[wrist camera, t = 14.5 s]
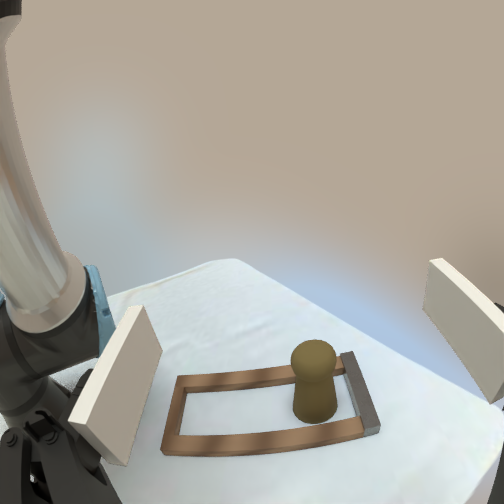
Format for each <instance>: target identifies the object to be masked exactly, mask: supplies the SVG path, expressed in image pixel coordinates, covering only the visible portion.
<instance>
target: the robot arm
mask: <svg viewBox="0 0 504 504" xmlns="http://www.w3.org/2000/svg"><path fill="white" fill-rule="evenodd" d="M21 2H22V0H0V288H1V290H2V291H3V292H4V294H5V295H6V300H5V299H4V295H3V294H2V293H1V292H0V413H1V414H2V415H3V417H4V419H5V421H6V423H7V425H8V427H9V429H8V430H6V431H5V432H4V434H3V435H2V437H1V441H0V504H122V502H121V501H120V499H119V497H118V495H117V493H116V492H115V490H114V488H113V486H112V484H111V482H110V480H109V478H108V476H107V474H106V472H105V470H104V468H103V466H102V465H101V464H100V463H99V461H100V458H101V456H102V457H103V458H104V459H105V460H106V461H107V462H108V463H110V464H115V465H121V466H127V464H128V460H129V457H130V453H131V449H132V446H133V442H134V439H135V436H136V432H137V429H138V426H139V422H140V419H141V416H142V412H143V409H144V406H145V403H146V400H147V396H148V393H149V390H150V387H151V384H152V381H153V378H154V375H155V372H156V369H157V366H158V363H159V360H160V357H161V354H162V351H163V350H162V348H161V346H160V344H159V341H158V339H157V337H156V334H155V332H154V330H153V327H152V325H151V323H150V320H149V318H148V315H147V313H146V310H145V308H144V305H139V306H130V307H129V308H128V309H127V311H126V313H125V314H124V316H123V318H122V319H121V321H120V323H119V324H118V326H117V328H116V327H115V324H114V321H113V318H112V315H111V312H110V309H109V305H108V302H107V298H106V295H105V292H104V288H103V285H102V281H101V278H100V275H99V272H98V269H97V267H96V266H94V265H90V266H88V265H86V266H83V265H82V264H81V262H80V261H79V259H78V258H77V257H76V256H74V255H73V254H70V253H68V252H65V251H62V250H61V248H60V246H59V244H58V241H57V239H56V237H55V235H54V232H53V230H52V228H51V225H50V223H49V221H48V218H47V216H46V213H45V211H44V208H43V206H42V203H41V201H40V198H39V195H38V192H37V190H36V187H35V184H34V181H33V178H32V175H31V172H30V169H29V166H28V162H27V159H26V156H25V153H24V149H23V146H22V141H21V138H20V134H19V130H18V126H17V121H16V117H15V113H14V107H13V103H12V97H11V92H10V86H9V79H8V71H7V63H6V53H5V44H6V42H7V39H8V38H9V36H10V35H11V33H12V32H13V30H14V29H15V28H16V26H17V25H18V24H19V22H20V21H21ZM423 311H424V312H425V313H426V315H427V316H428V317H429V319H430V320H431V321H432V322H433V324H434V325H435V326H436V327H437V329H438V330H439V331H440V333H441V334H442V335H443V337H444V338H445V339H446V341H447V342H448V343H449V345H450V346H451V347H452V349H453V350H454V352H455V353H456V355H457V356H458V357H459V358H460V360H461V362H462V363H463V364H464V366H465V367H466V369H467V370H468V372H469V373H470V375H471V376H472V378H473V379H474V381H475V382H476V384H477V385H478V387H479V388H480V390H481V391H482V393H483V394H484V396H485V397H486V399H487V401H488V402H489V404H492V403H494V402H496V401H497V400H499V399H501V398H502V397H503V396H504V307H503V306H501V305H499V304H497V303H492V302H491V301H490V300H489V299H488V298H487V297H486V296H485V295H484V294H483V293H482V292H481V291H480V290H478V289H477V288H476V287H475V286H474V285H473V284H472V283H471V282H470V281H468V280H467V279H466V278H465V277H464V276H463V275H462V274H460V273H459V272H458V271H457V270H456V269H455V268H453V267H452V266H451V265H450V264H449V263H447V262H446V261H445V260H444V259H443V258H438V259H434V260H430V261H429V267H428V275H427V284H426V290H425V297H424V303H423ZM99 357H100V358H99ZM93 358H99V360H98V362H97V364H96V365H95V367H94V369H88V370H87V371H86V372H85V373H84V374H83V375H82V376H81V377H80V379H79V381H78V383H77V385H76V388H75V389H74V390H73V392H72V393H71V392H70V391H69V390H68V389H66V388H65V387H64V386H62V385H61V384H59V383H58V382H57V381H55V380H54V379H53V378H51V377H50V376H49V375H51V374H54V373H56V372H59V371H62V370H64V369H67V368H70V367H72V366H75V365H77V364H80V363H83V362H85V361H88V360H90V359H93ZM502 410H504V407H503V409H502ZM30 474H31V475H32V476H33V477H34V482H32V481H30ZM487 504H504V443H503V448H502V453H501V457H500V462H499V466H498V470H497V474H496V477H495V481H494V484H493V488H492V491H491V494H490V497H489V500H488V503H487Z"/></svg>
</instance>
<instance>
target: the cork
mask: <svg viewBox="0 0 504 504" xmlns="http://www.w3.org/2000/svg"><path fill="white" fill-rule="evenodd" d="M336 363H337V358H336V353H335V351H334V349H333V347H332V346H331V345H330V344H328V343H327V342H325V341H322V340H308V341H305V342H303V343H301V344H299V345H298V346H297V347H296V348H295V349H294V351H293V353H292V355H291V367H292V370H293V372H294V374H295V375H296V383H295V392H294V401H293V412H294V414H295V416H296V417H297V418H298V419H299V420H301V421H303V422H305V423H310V424H318V423H322V422H325V421H327V420H328V419H330V418H331V417H332V416H333V415H334V414H335V412H336V410H337V407H338V406H337V398H336V392H335V386H334V380H333V374H332V372H333V371H334V369H335V366H336Z"/></svg>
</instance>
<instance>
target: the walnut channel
mask: <svg viewBox="0 0 504 504" xmlns="http://www.w3.org/2000/svg"><path fill="white" fill-rule="evenodd" d="M336 358H337V363H336V366H335V369H334V371H333V372H332V374H333V376H337V375H342V374H344V366H343V363H342V360H341V357H340V356H338V357H336ZM292 383H296V375H295V374H294V372H293V370H292V367H291V365H286V366H279V367H271V368H264V369H255V370H246V371H237V372H226V373H213V374H199V375H179V376H177V380H176V384H175V388H174V392H173V396H172V401H171V405H170V409H169V413H168V417H167V422H166V426H165V430H164V435H163V439H162V444H161V448H160V450H161V451H162V453H163V454H164V455H174V456H244V455H259V454H270V453H279V452H288V451H295V450H302V449H308V448H314V447H320V446H325V445H331V444H336V443H340V442H345V441H349V440H353V439H358V438H362V437H363V435H364V432H365V431H364V428H363V425H362V422H361V418H360V416H357V417H353V418H349V419H344V420H340V421H335V422H330V423H325V424H319V425H314V426H308V427H302V428H295V429H288V430H280V431H271V432H262V433H250V434H235V435H208V436H186V435H179V432H180V426H181V421H182V416H183V411H184V406H185V401H186V396H187V393H199V392H217V391H231V390H242V389H253V388H262V387H270V386H278V385H285V384H292Z"/></svg>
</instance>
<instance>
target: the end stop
mask: <svg viewBox="0 0 504 504" xmlns="http://www.w3.org/2000/svg"><path fill="white" fill-rule="evenodd" d="M340 357H341V360H342V363H343V366H344V377H345V380H346V383H347V386H348V390H349V393H350V396H351V399H352V402H353V405H354V409H355V412H356V415H357V416H360V418H361V422H362V425H363V428H364V431H365V432H364V435H363V437H365V436H369V435H373V434H377V433H378V432H379V429H380V426H381V424H380V421H379V419H378V416H377V413H376V410H375V407H374V405H373V402H372V399H371V397H370V394H369V391H368V389H367V386H366V383H365V381H364V378H363V376H362V373H361V370H360V368H359V365H358V363H357V360H356V358H355V355H354V353H353V351H350V352H346V353H341V354H340Z"/></svg>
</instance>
